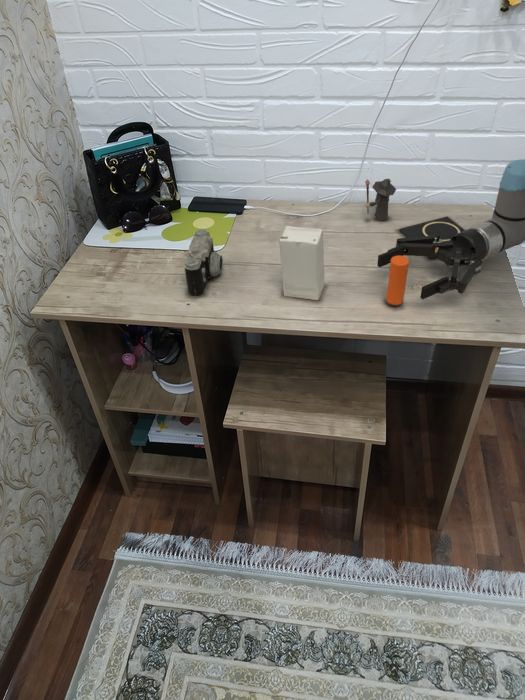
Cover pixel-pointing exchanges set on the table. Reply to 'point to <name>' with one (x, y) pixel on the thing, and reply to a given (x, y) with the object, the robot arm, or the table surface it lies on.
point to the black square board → (433, 229)
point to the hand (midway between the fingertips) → (399, 276)
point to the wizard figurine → (380, 197)
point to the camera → (201, 263)
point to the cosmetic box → (302, 262)
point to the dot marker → (397, 280)
